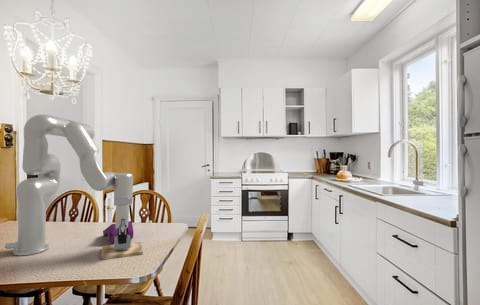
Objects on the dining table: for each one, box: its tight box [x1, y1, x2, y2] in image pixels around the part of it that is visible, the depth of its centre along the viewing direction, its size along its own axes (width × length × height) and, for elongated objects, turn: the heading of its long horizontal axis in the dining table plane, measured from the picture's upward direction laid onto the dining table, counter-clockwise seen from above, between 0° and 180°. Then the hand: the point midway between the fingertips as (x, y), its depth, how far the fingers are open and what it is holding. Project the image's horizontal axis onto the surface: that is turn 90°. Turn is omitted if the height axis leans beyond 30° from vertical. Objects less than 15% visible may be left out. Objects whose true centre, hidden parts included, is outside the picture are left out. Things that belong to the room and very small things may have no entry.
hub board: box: [100, 241, 144, 261], centre depth 117 cm, size 16×14×6 cm
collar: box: [113, 235, 132, 250], centre depth 117 cm, size 6×6×4 cm
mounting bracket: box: [102, 220, 134, 245], centre depth 135 cm, size 9×8×18 cm
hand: (122, 240), depth 117 cm, fingers open, 9 cm apart
